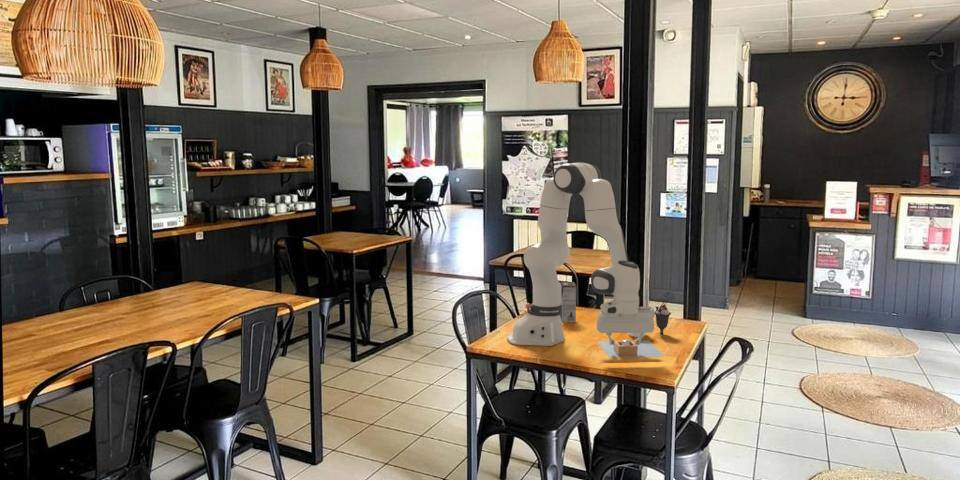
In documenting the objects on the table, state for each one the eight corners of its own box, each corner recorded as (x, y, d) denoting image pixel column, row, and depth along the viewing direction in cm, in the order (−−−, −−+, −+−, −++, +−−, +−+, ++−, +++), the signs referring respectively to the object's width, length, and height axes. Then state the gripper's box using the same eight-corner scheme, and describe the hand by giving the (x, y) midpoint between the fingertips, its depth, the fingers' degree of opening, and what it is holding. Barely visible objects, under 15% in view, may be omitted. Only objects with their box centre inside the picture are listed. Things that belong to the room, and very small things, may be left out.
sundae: (671, 340, 259) (672, 302, 257) (653, 339, 260) (654, 302, 258) (669, 335, 265) (671, 299, 263) (652, 335, 267) (653, 298, 265)
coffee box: (559, 316, 297) (559, 281, 294) (573, 316, 296) (574, 281, 294) (561, 322, 287) (562, 285, 285) (576, 322, 287) (577, 285, 285)
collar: (618, 356, 234) (618, 346, 234) (613, 350, 241) (613, 340, 240) (637, 355, 235) (637, 346, 234) (632, 350, 241) (632, 340, 241)
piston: (622, 354, 236) (622, 342, 236) (619, 351, 239) (620, 339, 239) (631, 354, 236) (631, 341, 236) (628, 351, 239) (629, 339, 239)
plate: (609, 361, 233) (609, 357, 232) (596, 345, 252) (596, 341, 252) (665, 360, 234) (665, 356, 233) (648, 344, 253) (648, 340, 253)
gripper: (652, 304, 239) (650, 341, 241) (596, 304, 238) (595, 341, 240) (657, 308, 233) (656, 346, 235) (600, 308, 232) (598, 347, 234)
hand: (624, 344), depth 237 cm, fingers open, 8 cm apart
